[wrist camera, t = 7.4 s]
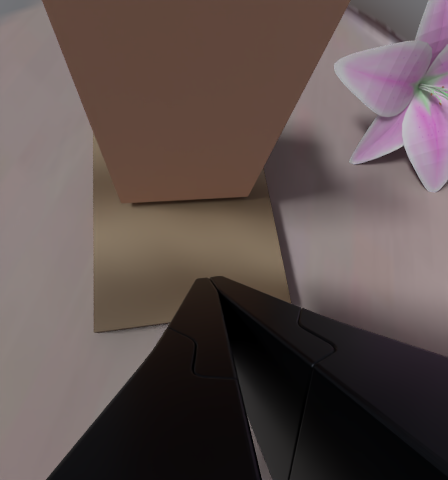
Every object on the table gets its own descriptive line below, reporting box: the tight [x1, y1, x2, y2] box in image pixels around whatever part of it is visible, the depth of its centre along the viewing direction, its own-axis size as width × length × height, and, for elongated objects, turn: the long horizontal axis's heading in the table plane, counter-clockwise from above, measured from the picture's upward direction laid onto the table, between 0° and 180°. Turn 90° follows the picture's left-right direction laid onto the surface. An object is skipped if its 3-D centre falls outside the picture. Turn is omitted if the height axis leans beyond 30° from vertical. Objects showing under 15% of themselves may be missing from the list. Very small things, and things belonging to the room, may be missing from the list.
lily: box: [334, 0, 448, 192], centre depth 19 cm, size 12×12×10 cm
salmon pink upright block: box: [42, 0, 351, 203], centre depth 13 cm, size 10×7×10 cm
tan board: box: [93, 132, 291, 333], centre depth 17 cm, size 14×10×1 cm
